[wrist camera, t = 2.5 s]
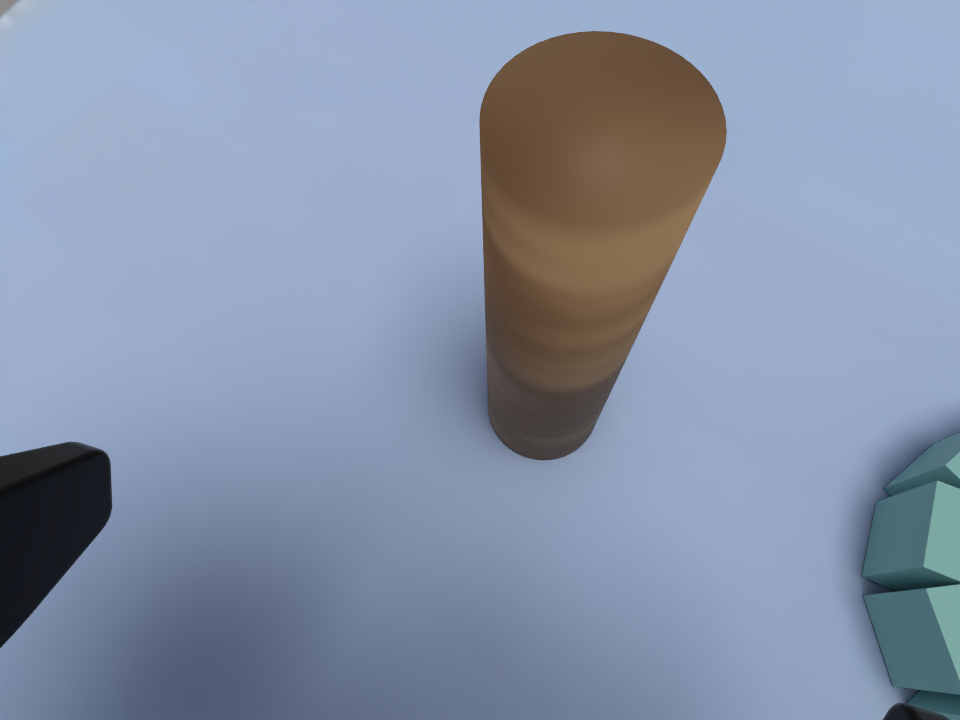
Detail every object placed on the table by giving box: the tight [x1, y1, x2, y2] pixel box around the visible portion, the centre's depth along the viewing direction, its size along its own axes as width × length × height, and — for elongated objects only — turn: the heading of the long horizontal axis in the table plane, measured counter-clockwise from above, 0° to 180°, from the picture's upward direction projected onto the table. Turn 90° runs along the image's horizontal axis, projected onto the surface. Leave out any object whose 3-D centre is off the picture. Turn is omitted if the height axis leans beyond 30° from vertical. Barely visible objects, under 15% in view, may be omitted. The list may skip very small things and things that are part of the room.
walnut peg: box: [480, 31, 727, 460], centre depth 15 cm, size 4×4×13 cm
